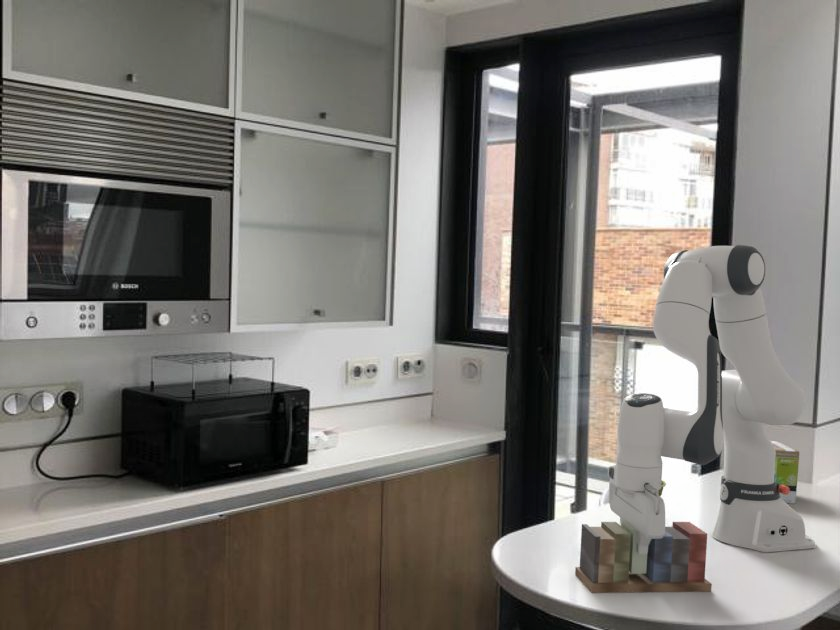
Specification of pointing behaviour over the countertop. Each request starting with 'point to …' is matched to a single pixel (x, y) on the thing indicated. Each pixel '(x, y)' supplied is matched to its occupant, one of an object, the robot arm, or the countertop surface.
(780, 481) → the tea box
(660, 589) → the book rack
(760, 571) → the countertop surface
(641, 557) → the pale green box
